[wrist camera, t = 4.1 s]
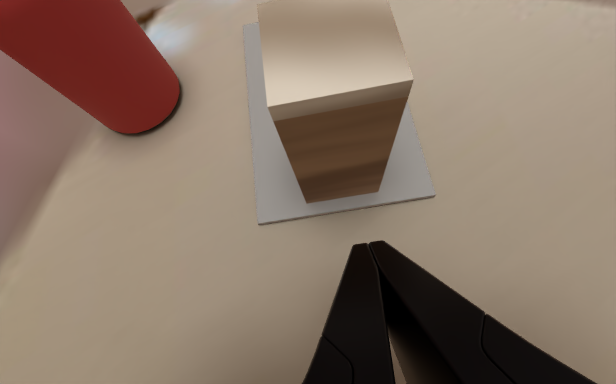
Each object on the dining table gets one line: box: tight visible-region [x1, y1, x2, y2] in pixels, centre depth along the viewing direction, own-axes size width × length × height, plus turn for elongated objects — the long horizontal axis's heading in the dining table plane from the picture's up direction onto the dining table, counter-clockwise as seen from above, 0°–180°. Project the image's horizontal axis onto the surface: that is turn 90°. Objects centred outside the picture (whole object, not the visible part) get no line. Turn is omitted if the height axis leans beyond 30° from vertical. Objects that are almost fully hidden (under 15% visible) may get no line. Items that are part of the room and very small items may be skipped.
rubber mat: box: [243, 22, 436, 225], centre depth 21 cm, size 17×11×1 cm, turn 8°
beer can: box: [0, 0, 180, 133], centre depth 18 cm, size 7×7×12 cm
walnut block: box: [257, 0, 414, 204], centre depth 14 cm, size 4×4×10 cm
